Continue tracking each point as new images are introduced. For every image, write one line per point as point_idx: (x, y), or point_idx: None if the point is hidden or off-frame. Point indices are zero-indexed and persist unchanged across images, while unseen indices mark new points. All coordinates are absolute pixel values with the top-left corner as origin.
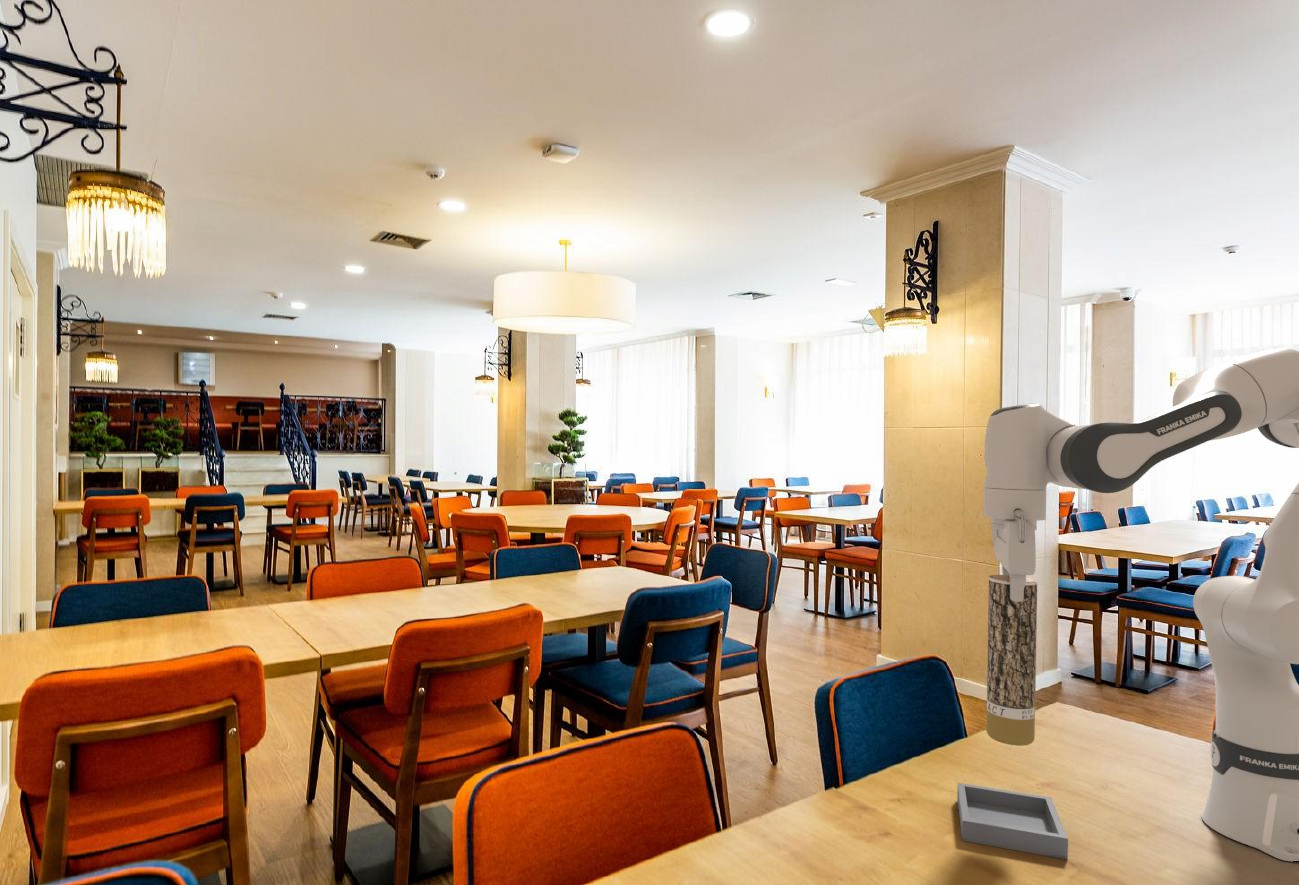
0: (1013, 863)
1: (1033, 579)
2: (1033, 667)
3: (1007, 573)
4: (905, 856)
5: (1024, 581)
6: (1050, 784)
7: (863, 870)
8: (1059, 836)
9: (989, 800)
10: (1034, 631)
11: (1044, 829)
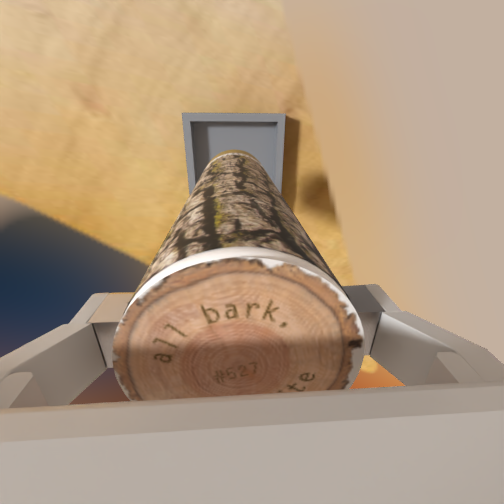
0: (304, 166)
1: (226, 274)
2: (263, 174)
3: (64, 385)
4: (318, 248)
5: (466, 345)
6: (84, 96)
7: (345, 272)
8: (283, 122)
9: (196, 179)
10: (271, 192)
11: (232, 128)
